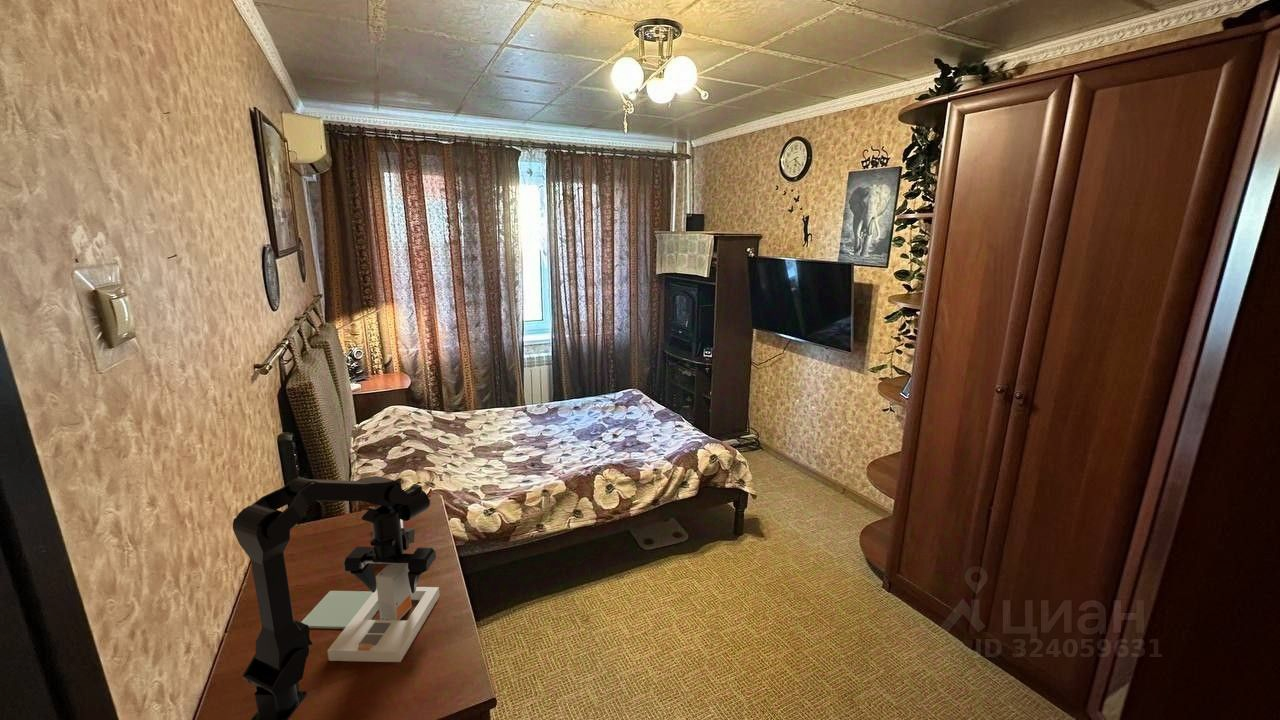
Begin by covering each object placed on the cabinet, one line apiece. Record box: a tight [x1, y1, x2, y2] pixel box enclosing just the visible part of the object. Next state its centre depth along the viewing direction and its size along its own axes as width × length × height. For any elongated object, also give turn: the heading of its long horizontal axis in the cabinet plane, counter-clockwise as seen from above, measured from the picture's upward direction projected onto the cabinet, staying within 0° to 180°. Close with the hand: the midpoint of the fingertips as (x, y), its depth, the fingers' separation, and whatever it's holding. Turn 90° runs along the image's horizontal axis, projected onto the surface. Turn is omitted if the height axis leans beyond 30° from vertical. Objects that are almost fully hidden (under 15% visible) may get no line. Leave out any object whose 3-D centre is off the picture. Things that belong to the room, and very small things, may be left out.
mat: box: [300, 590, 373, 630], centre depth 122 cm, size 12×12×1 cm
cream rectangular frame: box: [327, 586, 440, 663], centre depth 117 cm, size 20×15×3 cm
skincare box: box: [375, 563, 413, 620], centre depth 120 cm, size 6×4×12 cm
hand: (394, 591), depth 120 cm, fingers open, 9 cm apart
